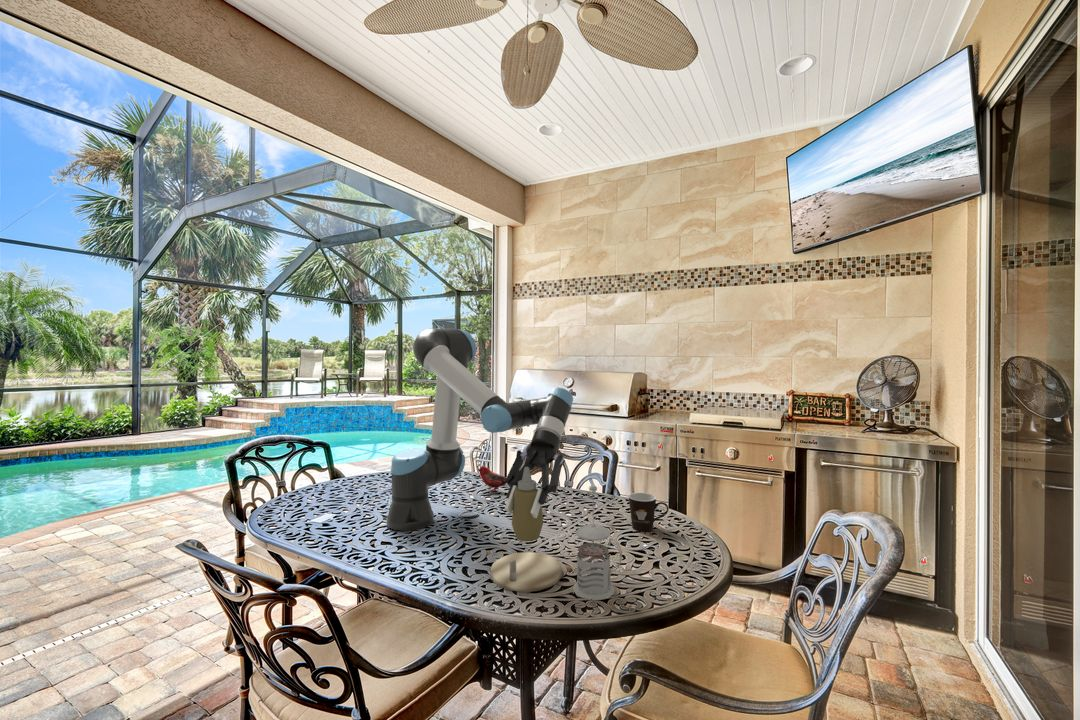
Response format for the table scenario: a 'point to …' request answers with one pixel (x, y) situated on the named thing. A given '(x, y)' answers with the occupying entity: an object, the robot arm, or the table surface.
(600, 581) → the french press
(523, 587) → the round beige plate
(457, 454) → the robot arm
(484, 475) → the decorative bird figurine
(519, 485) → the squeeze bottle
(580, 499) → the table surface
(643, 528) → the coffee mug
